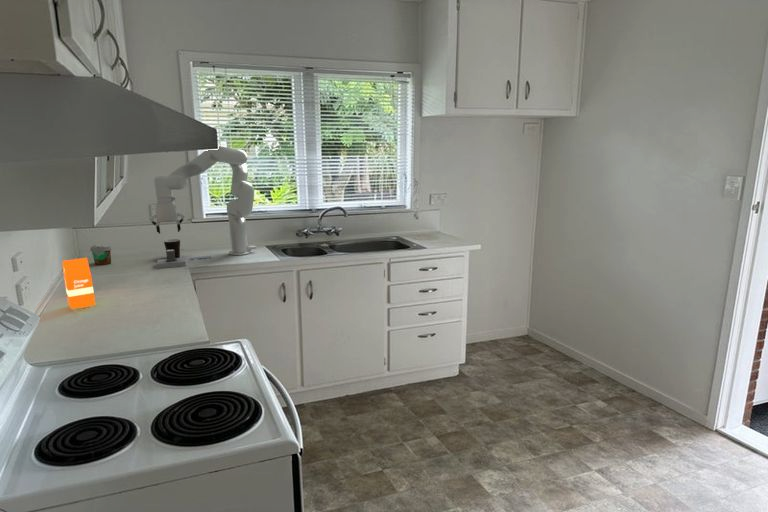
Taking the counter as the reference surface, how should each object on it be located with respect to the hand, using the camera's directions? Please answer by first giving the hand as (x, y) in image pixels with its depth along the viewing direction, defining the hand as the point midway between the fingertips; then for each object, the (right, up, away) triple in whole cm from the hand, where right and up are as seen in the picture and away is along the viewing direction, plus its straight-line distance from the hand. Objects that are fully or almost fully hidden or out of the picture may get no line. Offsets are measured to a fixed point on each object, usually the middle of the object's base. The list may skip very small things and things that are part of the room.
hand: (169, 232), depth 271 cm
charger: (0, -18, +4) cm, 18 cm away
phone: (+10, -14, +19) cm, 26 cm away
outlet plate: (0, -17, +4) cm, 18 cm away
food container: (-41, -17, +7) cm, 45 cm away
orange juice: (-9, -34, -63) cm, 72 cm away
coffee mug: (-6, -13, +22) cm, 27 cm away
